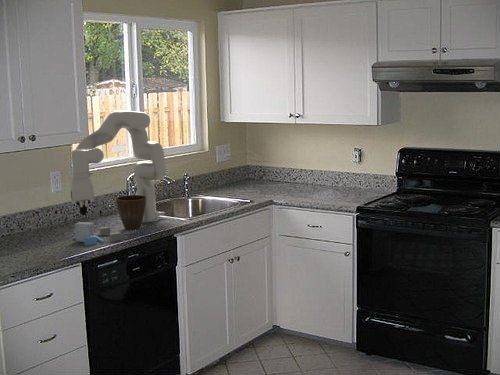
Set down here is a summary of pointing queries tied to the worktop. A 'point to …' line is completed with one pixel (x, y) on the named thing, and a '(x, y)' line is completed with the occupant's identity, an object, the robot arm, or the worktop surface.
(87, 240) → the blue duct
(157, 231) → the worktop surface
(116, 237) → the grey duct
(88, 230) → the medicine box
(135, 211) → the plant pot
